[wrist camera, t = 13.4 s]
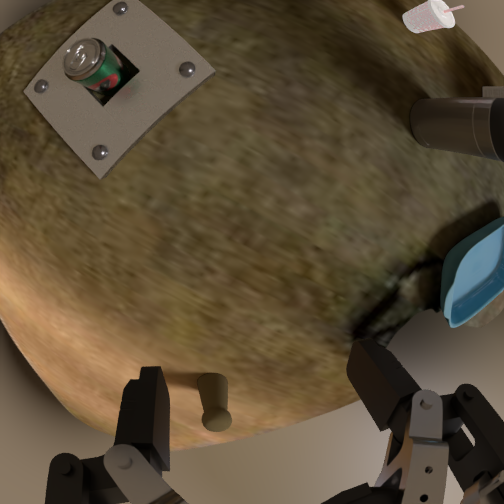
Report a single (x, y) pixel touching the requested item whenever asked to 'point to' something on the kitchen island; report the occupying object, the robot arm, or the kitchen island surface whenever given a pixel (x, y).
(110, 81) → the soda can
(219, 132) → the kitchen island surface
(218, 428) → the cork
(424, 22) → the beverage cup
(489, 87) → the supplement box
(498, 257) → the casserole dish
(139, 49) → the socket plate
